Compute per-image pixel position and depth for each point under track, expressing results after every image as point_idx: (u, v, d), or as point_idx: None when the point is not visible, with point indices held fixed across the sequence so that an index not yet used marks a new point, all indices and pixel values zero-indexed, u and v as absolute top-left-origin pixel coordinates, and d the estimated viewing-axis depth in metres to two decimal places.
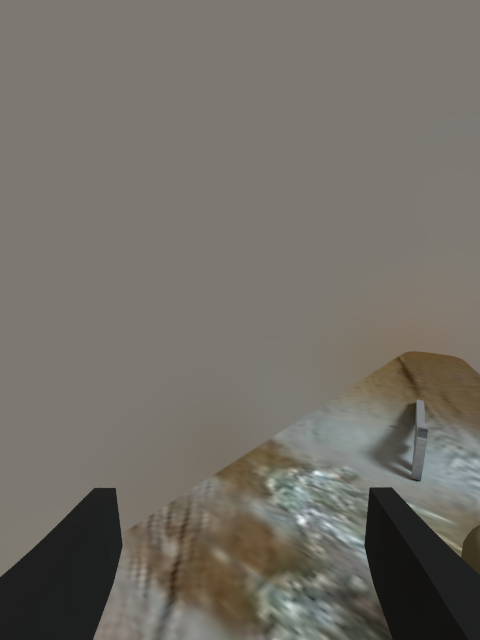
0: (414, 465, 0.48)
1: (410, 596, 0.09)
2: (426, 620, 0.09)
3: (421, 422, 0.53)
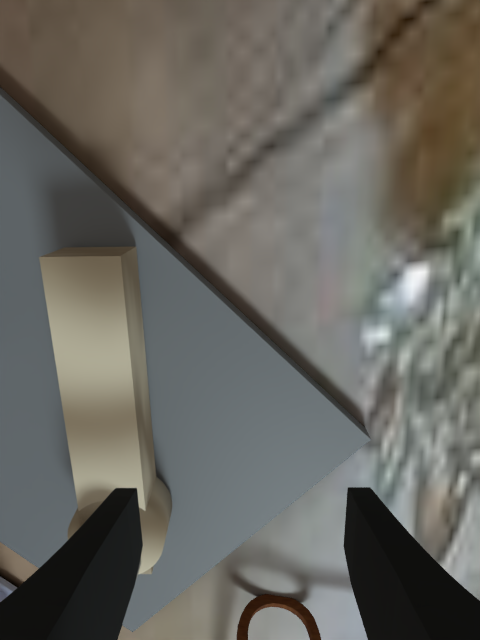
0: None
1: (382, 596, 0.09)
2: (396, 620, 0.09)
3: None
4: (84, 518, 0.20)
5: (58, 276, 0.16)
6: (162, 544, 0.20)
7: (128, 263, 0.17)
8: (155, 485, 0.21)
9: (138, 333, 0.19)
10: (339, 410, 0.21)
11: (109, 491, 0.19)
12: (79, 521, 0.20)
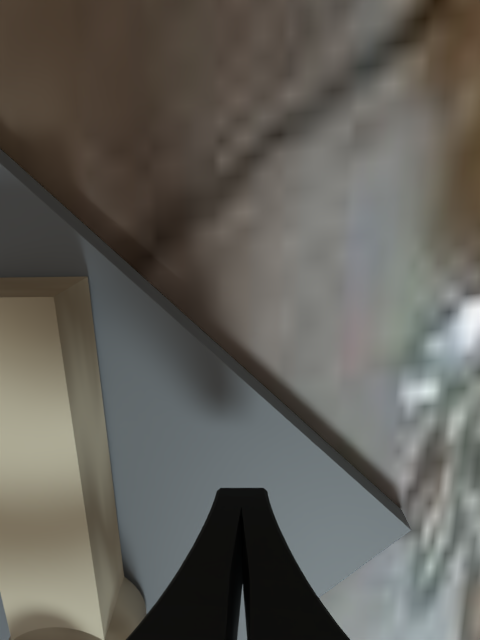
0: None
1: (248, 595, 0.10)
2: None
3: None
4: None
5: None
6: None
7: (71, 304, 0.12)
8: (122, 592, 0.16)
9: (91, 398, 0.13)
10: (369, 493, 0.15)
11: (53, 616, 0.14)
12: None
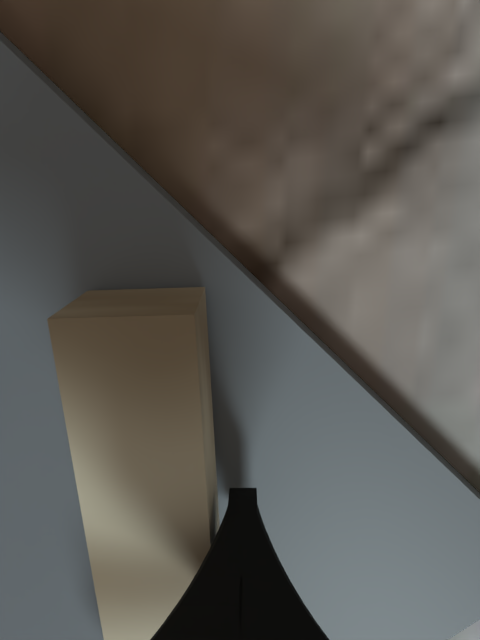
0: None
1: None
2: None
3: None
4: None
5: (81, 351, 0.09)
6: None
7: (200, 320, 0.10)
8: None
9: (210, 428, 0.11)
10: None
11: None
12: None
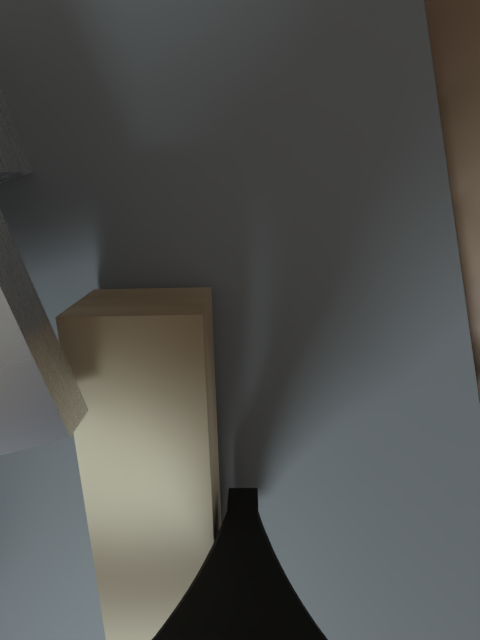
0: None
1: None
2: None
3: None
4: None
5: (89, 350, 0.09)
6: None
7: (207, 321, 0.10)
8: None
9: (214, 428, 0.11)
10: None
11: None
12: None
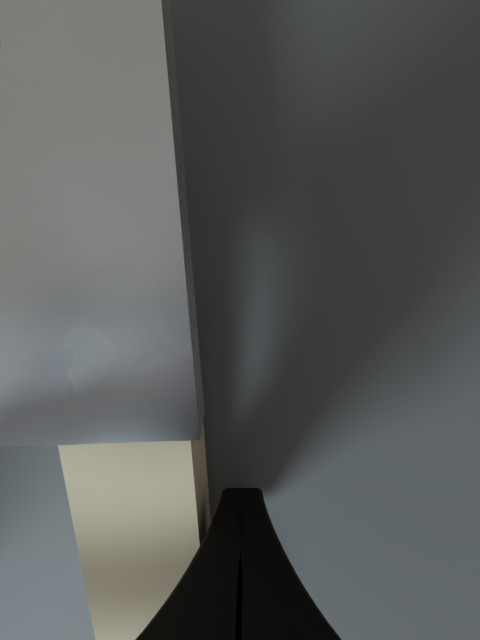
0: None
1: (241, 595, 0.10)
2: None
3: None
4: None
5: None
6: None
7: None
8: None
9: None
10: None
11: None
12: None
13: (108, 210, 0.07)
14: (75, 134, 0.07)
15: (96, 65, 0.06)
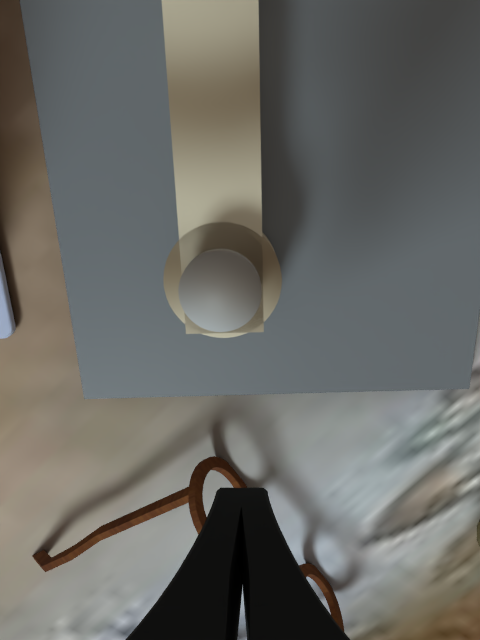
0: None
1: (248, 596, 0.10)
2: None
3: None
4: (185, 250, 0.16)
5: None
6: (280, 287, 0.16)
7: None
8: (262, 233, 0.17)
9: None
10: (474, 343, 0.20)
11: (219, 208, 0.15)
12: (179, 255, 0.16)
13: None
14: None
15: None
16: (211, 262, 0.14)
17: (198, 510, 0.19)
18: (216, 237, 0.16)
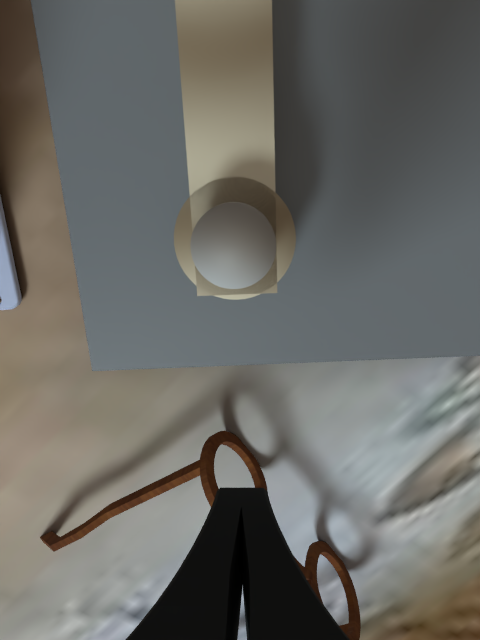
0: None
1: (248, 596, 0.10)
2: None
3: None
4: (196, 207, 0.15)
5: None
6: (294, 245, 0.16)
7: None
8: None
9: None
10: None
11: (230, 162, 0.15)
12: (190, 212, 0.15)
13: None
14: None
15: None
16: (224, 215, 0.14)
17: (210, 482, 0.19)
18: (228, 193, 0.15)
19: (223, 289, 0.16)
